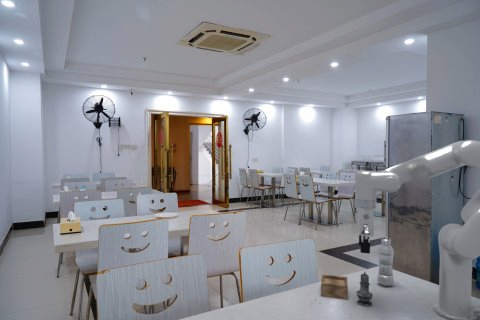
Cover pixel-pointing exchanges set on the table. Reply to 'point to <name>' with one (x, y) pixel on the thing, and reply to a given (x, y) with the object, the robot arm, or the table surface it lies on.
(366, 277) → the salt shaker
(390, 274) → the plastic bottle
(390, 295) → the table surface
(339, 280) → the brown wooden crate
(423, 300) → the table surface
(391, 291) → the table surface
